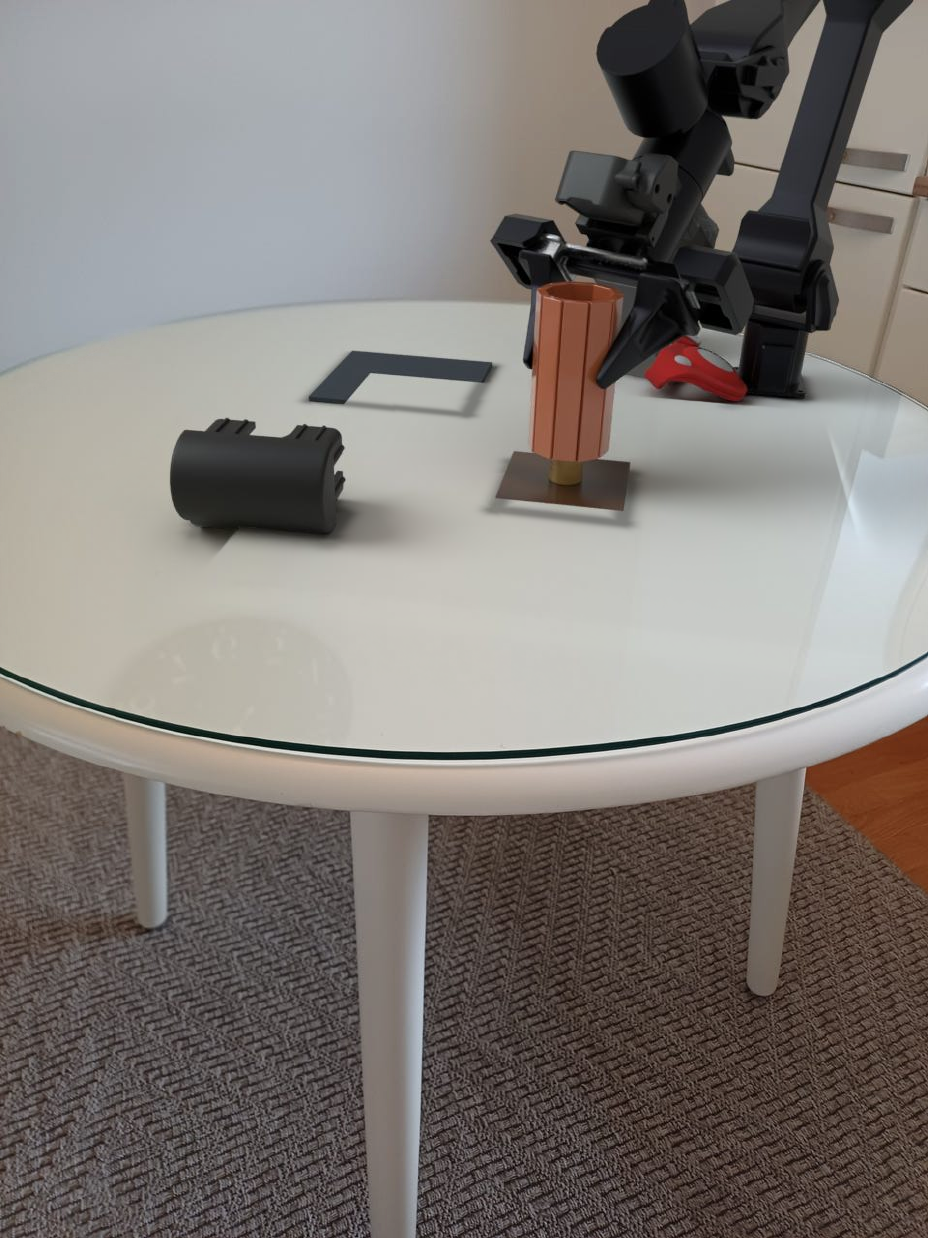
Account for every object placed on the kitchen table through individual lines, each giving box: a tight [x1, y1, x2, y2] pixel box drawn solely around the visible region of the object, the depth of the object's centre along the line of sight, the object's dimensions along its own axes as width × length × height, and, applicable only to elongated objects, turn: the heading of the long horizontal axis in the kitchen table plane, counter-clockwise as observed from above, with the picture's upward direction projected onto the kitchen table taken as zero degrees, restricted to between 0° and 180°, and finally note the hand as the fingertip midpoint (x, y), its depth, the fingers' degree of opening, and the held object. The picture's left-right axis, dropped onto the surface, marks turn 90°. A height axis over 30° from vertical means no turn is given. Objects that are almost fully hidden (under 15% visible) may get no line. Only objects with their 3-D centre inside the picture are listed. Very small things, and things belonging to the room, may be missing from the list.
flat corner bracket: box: [308, 350, 493, 405], centre depth 100 cm, size 14×14×1 cm
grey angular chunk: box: [593, 203, 720, 385], centre depth 106 cm, size 14×15×18 cm
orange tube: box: [527, 280, 624, 462], centre depth 75 cm, size 6×6×11 cm
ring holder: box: [494, 450, 631, 512], centre depth 78 cm, size 9×9×6 cm
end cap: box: [169, 417, 347, 535], centre depth 71 cm, size 10×7×7 cm
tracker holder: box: [644, 335, 747, 402], centre depth 100 cm, size 12×4×10 cm
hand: (562, 375), depth 74 cm, fingers closed on orange tube, 6 cm apart
